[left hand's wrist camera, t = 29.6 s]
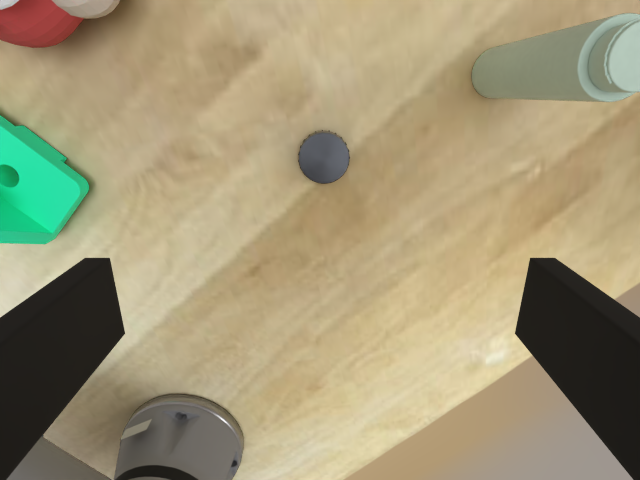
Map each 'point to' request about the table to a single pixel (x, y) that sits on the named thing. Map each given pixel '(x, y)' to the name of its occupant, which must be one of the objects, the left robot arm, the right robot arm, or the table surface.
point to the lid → (324, 157)
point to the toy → (47, 19)
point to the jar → (566, 64)
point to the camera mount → (34, 187)
